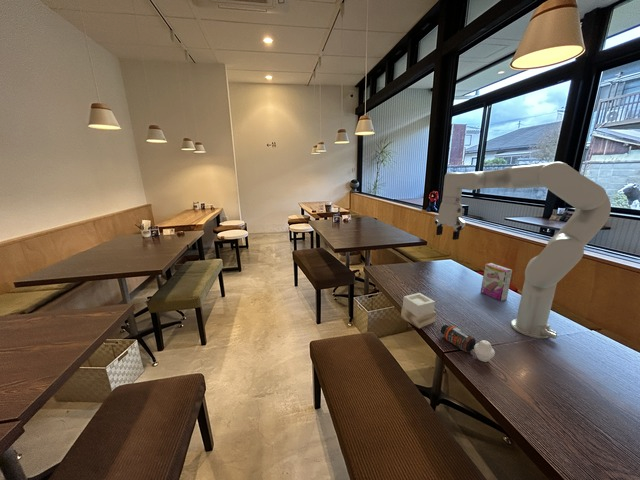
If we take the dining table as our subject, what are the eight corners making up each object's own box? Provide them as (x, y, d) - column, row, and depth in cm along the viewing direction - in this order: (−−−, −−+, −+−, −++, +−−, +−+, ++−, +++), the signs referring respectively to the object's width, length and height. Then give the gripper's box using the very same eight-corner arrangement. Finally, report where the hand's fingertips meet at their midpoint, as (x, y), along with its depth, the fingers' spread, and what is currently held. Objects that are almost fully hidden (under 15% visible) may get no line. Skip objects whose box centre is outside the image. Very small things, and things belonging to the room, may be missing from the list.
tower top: (433, 312, 110) (434, 301, 109) (417, 316, 107) (418, 305, 106) (418, 303, 119) (419, 292, 117) (402, 307, 115) (403, 296, 114)
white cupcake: (468, 355, 91) (471, 338, 90) (480, 350, 94) (483, 334, 92) (484, 367, 86) (487, 349, 84) (497, 362, 88) (501, 344, 86)
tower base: (434, 322, 112) (436, 311, 111) (419, 329, 107) (420, 318, 106) (416, 311, 121) (416, 302, 119) (400, 317, 116) (401, 307, 114)
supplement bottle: (463, 353, 91) (436, 336, 101) (473, 352, 94) (446, 335, 104) (468, 338, 90) (441, 322, 100) (478, 337, 93) (450, 322, 103)
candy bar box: (479, 292, 138) (484, 263, 134) (486, 290, 140) (491, 262, 136) (500, 301, 128) (506, 271, 124) (507, 300, 130) (513, 269, 126)
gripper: (474, 202, 110) (468, 240, 115) (442, 198, 126) (439, 232, 130) (461, 202, 108) (456, 242, 112) (430, 199, 124) (427, 233, 128)
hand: (446, 237), depth 121 cm, fingers open, 9 cm apart
